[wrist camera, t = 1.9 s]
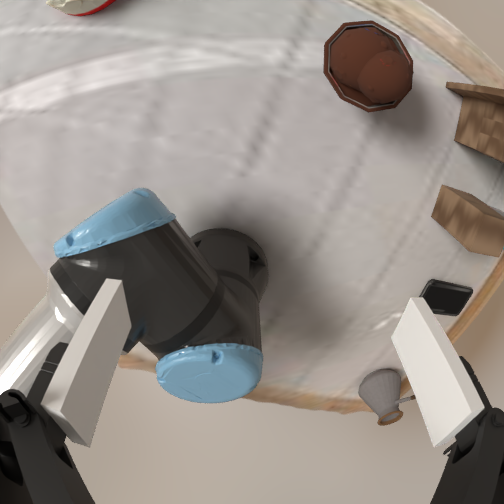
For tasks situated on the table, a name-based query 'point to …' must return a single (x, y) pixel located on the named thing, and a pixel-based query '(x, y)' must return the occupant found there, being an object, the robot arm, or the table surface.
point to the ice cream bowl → (368, 66)
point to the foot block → (470, 221)
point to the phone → (446, 297)
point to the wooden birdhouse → (481, 119)
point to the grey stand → (497, 209)
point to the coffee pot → (383, 395)
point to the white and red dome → (79, 6)
